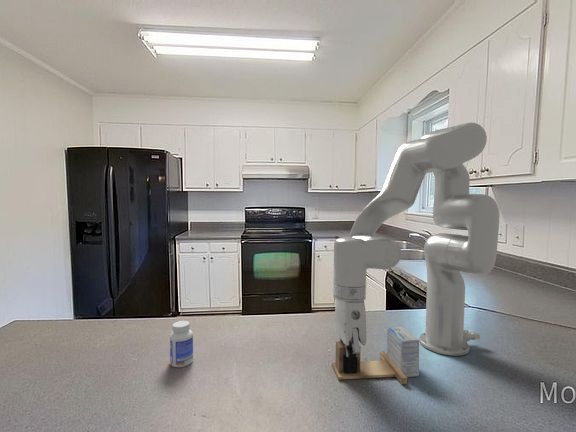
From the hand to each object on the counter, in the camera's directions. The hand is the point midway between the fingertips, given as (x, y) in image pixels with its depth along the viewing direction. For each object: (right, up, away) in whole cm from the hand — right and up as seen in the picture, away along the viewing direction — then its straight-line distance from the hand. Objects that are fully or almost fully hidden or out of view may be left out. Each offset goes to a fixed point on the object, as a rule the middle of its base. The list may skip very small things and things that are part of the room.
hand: (347, 367), depth 72 cm
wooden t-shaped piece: (+4, -1, 0) cm, 4 cm away
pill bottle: (-40, -1, +4) cm, 41 cm away
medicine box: (+14, -2, +2) cm, 14 cm away
